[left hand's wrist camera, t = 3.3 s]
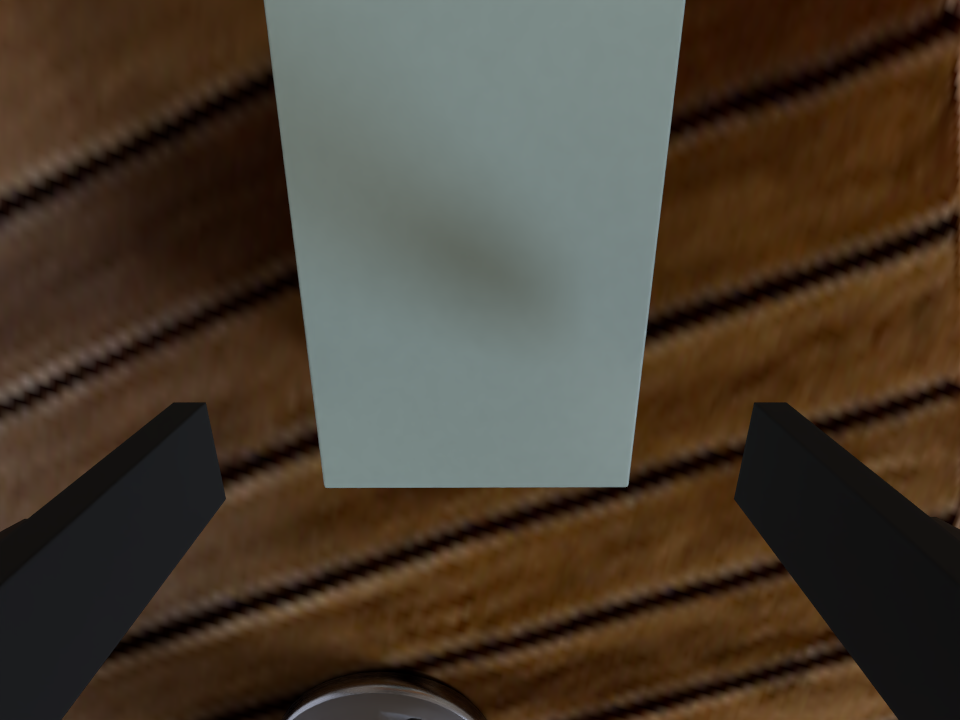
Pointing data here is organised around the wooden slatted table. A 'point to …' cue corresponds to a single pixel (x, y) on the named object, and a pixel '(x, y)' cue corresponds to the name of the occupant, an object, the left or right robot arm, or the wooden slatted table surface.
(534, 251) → the cabinet
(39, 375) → the wooden slatted table surface
